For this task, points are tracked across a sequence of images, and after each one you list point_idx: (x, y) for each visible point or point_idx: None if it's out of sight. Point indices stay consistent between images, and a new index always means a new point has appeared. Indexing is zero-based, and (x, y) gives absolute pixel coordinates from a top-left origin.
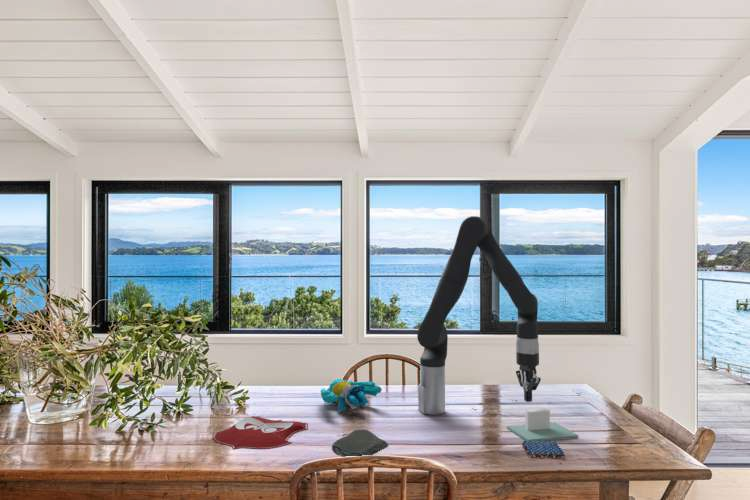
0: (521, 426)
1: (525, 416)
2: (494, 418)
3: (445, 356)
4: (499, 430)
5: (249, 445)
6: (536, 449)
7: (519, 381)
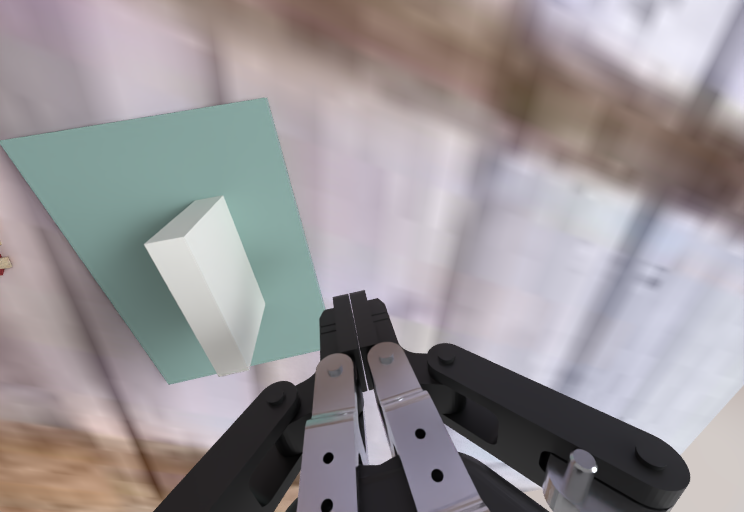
0: (265, 187)
1: (198, 220)
2: (455, 82)
3: None
4: (223, 24)
5: None
6: None
7: (492, 375)
